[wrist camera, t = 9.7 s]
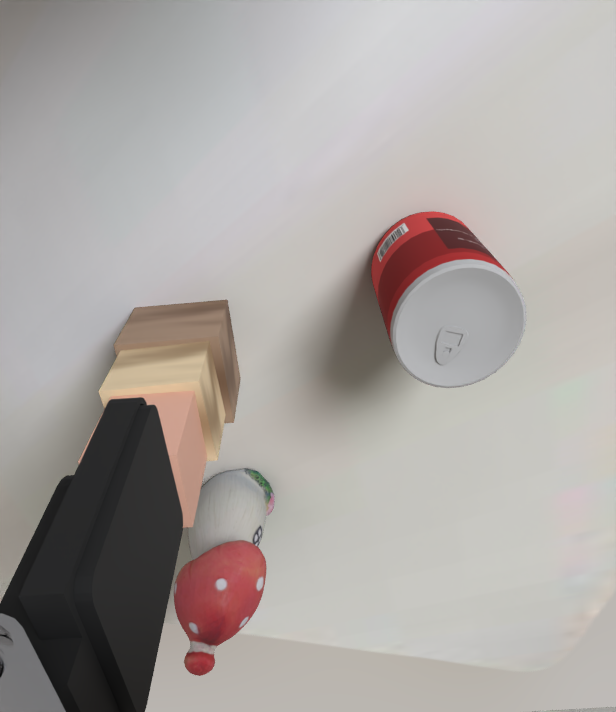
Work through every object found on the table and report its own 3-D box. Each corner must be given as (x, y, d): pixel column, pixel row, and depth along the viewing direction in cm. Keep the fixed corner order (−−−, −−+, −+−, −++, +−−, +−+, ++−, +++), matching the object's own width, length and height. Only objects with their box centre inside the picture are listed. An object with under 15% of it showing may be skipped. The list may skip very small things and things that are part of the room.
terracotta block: (110, 396, 35) (78, 461, 29) (194, 390, 34) (176, 455, 29) (129, 461, 37) (102, 533, 32) (207, 456, 37) (192, 527, 32)
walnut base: (135, 307, 44) (113, 345, 38) (227, 299, 44) (218, 336, 38) (154, 385, 47) (137, 430, 42) (240, 378, 47) (233, 422, 42)
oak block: (120, 350, 39) (98, 391, 34) (209, 341, 38) (198, 381, 34) (142, 423, 42) (125, 469, 37) (225, 414, 41) (217, 460, 37)
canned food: (368, 313, 44) (389, 392, 35) (370, 209, 40) (394, 265, 31) (468, 310, 44) (516, 387, 35) (480, 205, 40) (538, 260, 31)
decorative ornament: (226, 540, 56) (206, 696, 43) (171, 505, 53) (132, 660, 40) (292, 485, 53) (292, 636, 40) (237, 446, 50) (217, 593, 37)
